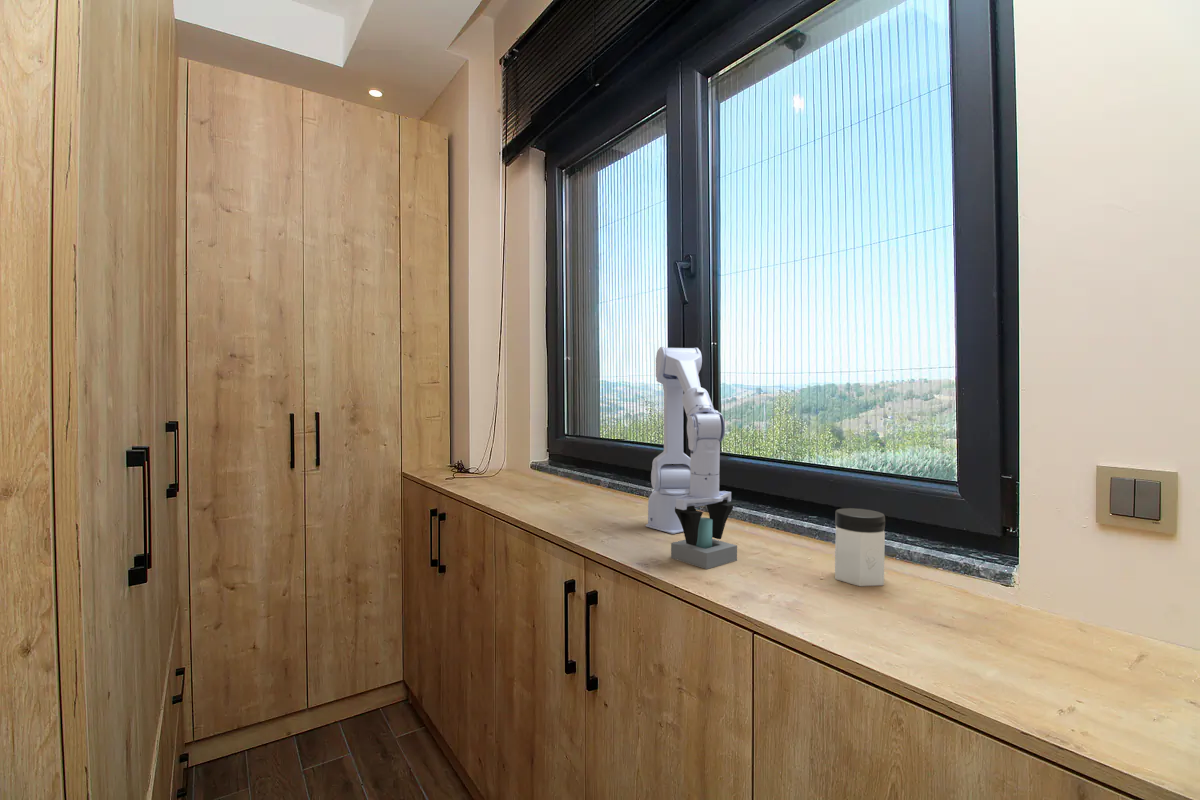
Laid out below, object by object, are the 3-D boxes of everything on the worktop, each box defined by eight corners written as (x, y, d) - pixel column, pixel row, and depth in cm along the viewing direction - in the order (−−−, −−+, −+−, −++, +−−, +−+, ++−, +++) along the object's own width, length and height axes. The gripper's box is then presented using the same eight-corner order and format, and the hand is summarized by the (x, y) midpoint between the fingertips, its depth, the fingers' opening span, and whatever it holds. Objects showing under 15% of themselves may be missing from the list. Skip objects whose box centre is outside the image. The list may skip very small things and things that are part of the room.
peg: (692, 558, 113) (692, 518, 113) (703, 555, 115) (703, 516, 115) (704, 562, 111) (705, 521, 111) (715, 559, 113) (715, 519, 113)
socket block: (671, 557, 114) (671, 542, 114) (701, 550, 120) (701, 535, 119) (706, 569, 107) (706, 553, 107) (736, 560, 112) (737, 545, 112)
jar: (848, 587, 97) (849, 518, 97) (823, 572, 105) (824, 508, 105) (896, 585, 98) (897, 517, 98) (868, 571, 106) (869, 507, 106)
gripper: (695, 479, 105) (695, 551, 105) (743, 472, 114) (742, 539, 114) (668, 474, 111) (667, 543, 111) (716, 468, 120) (715, 532, 120)
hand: (704, 541), depth 113 cm, fingers open, 7 cm apart
